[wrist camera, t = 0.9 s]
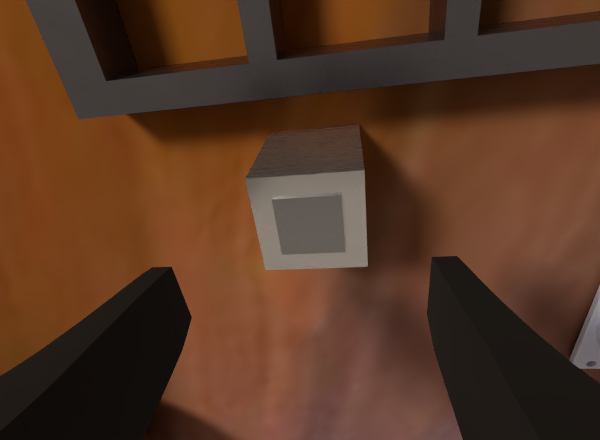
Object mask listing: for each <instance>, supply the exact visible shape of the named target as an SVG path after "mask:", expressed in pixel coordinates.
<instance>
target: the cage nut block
mask: <svg viewBox="0 0 600 440" xmlns="http://www.w3.org/2000/svg"><path fill="white" fill-rule="evenodd" d="M245 180H246V185H247V189H248V194H249V198H250V203H251V207H252V212H253V216H254V220H255V225H256V229H257V234H258V238H259V243H260V247H261V252H262V256H263V260H264V265H265V269H266V270H282V269H312V268H343V267H368V257H367V228H366V199H365V170H364V162H363V154H362V146H361V138H360V130H359V123H358V124H348V125H337V126H326V127H315V128H304V129H294V130H283V131H272V132H270V133H269V135H268V137H267V138H266V140H265V142H264V144H263V146H262V148H261V150H260V152H259V154H258V156H257V157H256V159H255V161H254V163H253V165H252V167H251V169H250V171H249V173H248V175H247V176H246V178H245Z"/></svg>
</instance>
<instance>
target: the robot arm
mask: <svg viewBox="0 0 600 440" xmlns="http://www.w3.org/2000/svg"><path fill="white" fill-rule="evenodd" d="M427 315H428V321H429V326H430V331H431V336H432V341H433V346H434V351H435V354H436V357H437V360H438V363H439V367H440V370H441V373H442V376H443V379H444V382H445V385H446V388H447V391H448V395H449V398H450V401H451V404H452V407H453V410H454V413H455V416H456V419H457V422H458V425H459V429H460V432H461V435H462V438H463V440H600V384H599V383H598V382H597V381H595V380H594V379H593V378H591V377H590V376H589V375H587V374H586V373H585V372H583V371H582V370H581V369H600V285H599V288H598V290H597V293H596V295H595V298H594V300H593V302H592V305H591V307H590V310H589V312H588V315H587V317H586V320H585V322H584V325H583V327H582V329H581V332H580V334H579V337H578V339H577V342H576V344H575V347H574V349H573V352H572V354H571V356H570V359H569V360H568V359H566V358H565V357H564V356H563V355H562V354H560V353H559V352H558V351H557V350H555V349H554V348H553V347H552V346H551V345H550V344H548V343H547V342H546V341H545V340H544V339H543V338H541V337H540V336H539V335H538V334H537V333H536V332H534V331H533V330H532V329H531V328H530V327H529V326H528V325H527V324H526V323H524V322H523V321H522V320H521V319H520V318H519V317H518V316H517V315H516V314H515V313H514V312H513V311H512V310H510V309H509V308H508V307H507V306H506V305H505V304H504V303H503V302H502V301H501V300H500V299H499V298H498V297H497V296H496V295H495V294H494V293H493V292H492V291H491V290H490V289H489V288H488V287H487V286H486V285H485V284H484V283H483V282H482V281H481V280H480V279H479V278H478V277H477V276H476V275H475V274H474V273H473V272H472V271H471V270H470V269H469V268H468V267H467V266H466V265H465V264H464V263H463V262H462V261H461V260H460V259H459V258H458V257H457V256H448V257H432V262H431V274H430V286H429V298H428V310H427ZM191 318H192V317H191V314H190V312H189V309H188V307H187V304H186V302H185V299H184V297H183V294H182V292H181V289H180V287H179V284H178V282H177V279H176V277H175V274H174V272H173V269H172V267H156V268H151V269H149V270H148V271H146V272H145V273H143V274H142V275H141V276H139V277H138V278H137V279H135V280H134V281H133V282H131V283H130V284H129V285H127V286H126V287H125V288H123V289H122V290H121V291H120V292H118V293H117V294H116V295H114V296H113V297H112V298H111V299H109V300H108V301H107V302H105V303H104V304H103V305H101V306H100V307H99V308H98V309H96V310H95V311H94V312H92V313H91V314H90V315H88V316H87V317H86V318H84V319H83V320H82V321H80V322H79V323H78V324H76V325H75V326H73V327H72V328H71V329H69V330H68V331H67V332H65V333H64V334H62V335H61V336H60V337H58V338H57V339H56V340H54V341H53V342H51V343H50V344H49V345H47V346H46V347H44V348H43V349H41V350H40V351H39V352H37V353H36V354H34V355H33V356H31V357H30V358H28V359H27V360H25V361H24V362H22V363H21V364H19V365H17V366H16V367H14V368H13V369H11V370H9V371H8V372H6V373H5V374H3V375H2V376H0V440H143V439H144V437H145V434H146V432H147V429H148V427H149V424H150V422H151V420H152V418H153V415H154V413H155V411H156V409H157V406H158V404H159V402H160V400H161V397H162V395H163V393H164V391H165V388H166V386H167V384H168V382H169V379H170V377H171V375H172V373H173V370H174V368H175V366H176V363H177V361H178V359H179V356H180V354H181V352H182V349H183V346H184V342H185V339H186V336H187V332H188V329H189V325H190V321H191Z"/></svg>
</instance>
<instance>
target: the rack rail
mask: <svg viewBox="0 0 600 440" xmlns="http://www.w3.org/2000/svg"><path fill="white" fill-rule="evenodd" d="M237 1H238V6H239V12H240V17H241V23H242V28H243V34H244V39H245V44H246V50H247V55H248V56H241V57H233V58H225V59H217V60H209V61H201V62H193V63H185V64H177V65H170V66H162V67H154V68H146V69H138V67H137V64H136V61H135V58H134V55H133V52H132V49H131V46H130V43H129V40H128V37H127V34H126V31H125V28H124V25H123V22H122V19H121V16H120V13H119V10H118V7H117V4H116V1H115V0H26V2H27V4H28V6H29V9H30V11H31V13H32V15H33V18H34V20H35V22H36V24H37V27H38V29H39V31H40V33H41V35H42V38H43V40H44V42H45V44H46V47H47V49H48V51H49V53H50V56H51V58H52V60H53V62H54V65H55V67H56V69H57V71H58V74H59V76H60V78H61V80H62V83H63V85H64V87H65V89H66V92H67V94H68V96H69V98H70V100H71V103H72V105H73V107H74V109H75V112H76V114H77V116H78V118H79V119H85V118H94V117H104V116H113V115H122V114H132V113H141V112H151V111H160V110H169V109H179V108H188V107H198V106H207V105H216V104H226V103H235V102H245V101H254V100H263V99H273V98H282V97H292V96H301V95H310V94H320V93H329V92H339V91H348V90H357V89H367V88H376V87H386V86H395V85H404V84H414V83H423V82H433V81H442V80H451V79H461V78H470V77H480V76H489V75H498V74H508V73H517V72H527V71H536V70H545V69H555V68H564V67H574V66H583V65H592V64H600V11H598V12H590V13H582V14H574V15H566V16H558V17H550V18H542V19H535V20H527V21H519V22H511V23H503V24H495V25H487V26H479V18H480V10H481V1H482V0H430V17H429V33H423V34H416V35H408V36H400V37H392V38H384V39H376V40H368V41H360V42H352V43H344V44H336V45H328V46H320V47H312V48H304V49H296V50H289V51H287V50H286V42H285V35H284V27H283V19H282V12H281V4H280V0H237Z"/></svg>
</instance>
